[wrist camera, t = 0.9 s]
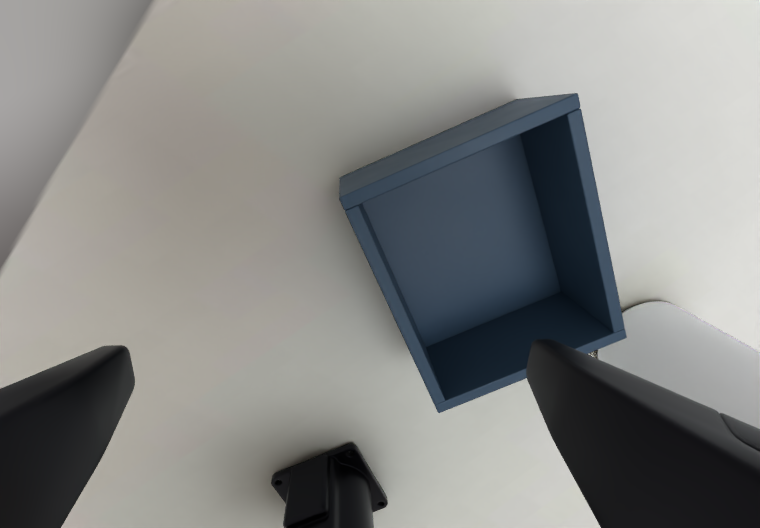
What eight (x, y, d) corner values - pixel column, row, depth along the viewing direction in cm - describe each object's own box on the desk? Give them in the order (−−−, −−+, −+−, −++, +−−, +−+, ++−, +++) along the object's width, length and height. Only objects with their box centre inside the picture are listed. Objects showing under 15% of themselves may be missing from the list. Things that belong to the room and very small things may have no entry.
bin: (566, 291, 25) (627, 338, 20) (418, 352, 25) (438, 413, 20) (517, 98, 20) (578, 92, 15) (339, 177, 21) (338, 197, 16)
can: (583, 323, 26) (770, 483, 15) (677, 281, 25) (944, 413, 14) (605, 393, 28) (780, 577, 17) (691, 356, 28) (931, 520, 16)
